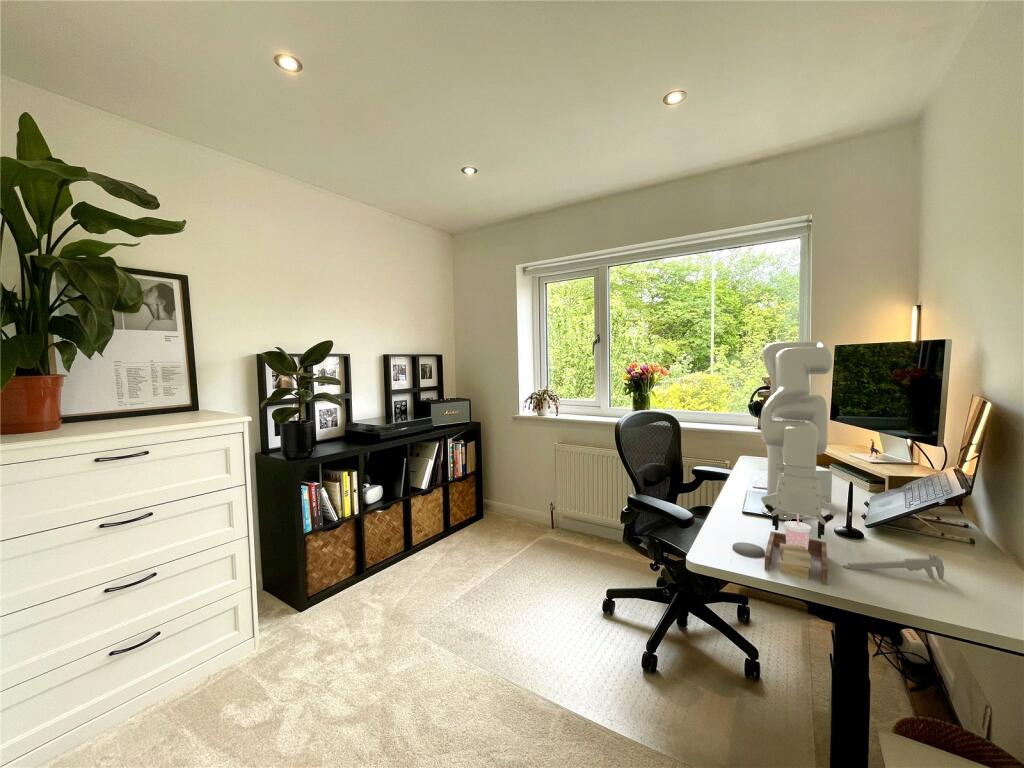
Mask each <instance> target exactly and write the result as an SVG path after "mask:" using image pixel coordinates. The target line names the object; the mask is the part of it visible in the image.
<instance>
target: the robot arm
mask: <svg viewBox="0 0 1024 768" xmlns="http://www.w3.org/2000/svg"><path fill="white" fill-rule="evenodd" d="M762 357H763V364H764V367H765V369H766V371H767V373H768V376H769V380H770V397H769V398H767V400H766V401H765V403H764V404H763V406H762V408H761V412H760V436H761V440H762V441H763V443H764V444H766V452H767V481H766V482H767V486H766V487H767V488H766V494H765V495H763V496H762V497H761V498H760V499H761V502H762V504H763V505H764V506H762V507H761V511H762V510H763V511H764V512H766V513H768V514H771V515H772V517H771V519H772V522H771V525H772V527H774V531H775V532H777V531H778V530H779V527H780V526H779V523H780V520H783V521H789V520H790V521H791V520H792V519H797V514H799V519H800V520H799V521H802V520H804V519H805V517H813V518H816V519H817V520H818V521H817V539H819V540H821V539H822V536H825V526H826V525H827V524H828V523H829V522H830V521H833V520H834V518H835V517H836V516H837V514H838V513H839V508H838V507H836V506H834V505H833V504H832V503H831V504H829V503H827V502H826V501H824V500H822V499H821V485H820V480H819V478H818V477H816V466H817V457H818V456H817V455H823V454H824V453H825V452H826V451H827V447H828V405H827V402H826V399H825V398H824V396H822V395H821V394H817V393H811V383H810V375H825V374H826V375H827V374H828V373H830V372H831V370H832V368H833V367H832V366H833V356H832V353H831V351H830V349H829V347H828V346H827V345H826V344H825V343H824V342H823V341H818V340H817V341H815V340H814V341H813V340H812V341H807V340H806V341H805V340H804V341H778V342H777V341H776V342H771V343H768V344H766V345H765V346H764V348H763V350H762ZM772 418H774V419H776V420H773V419H772ZM822 507H824V508H825V509H827V510H829V512H828V513H827V514H826V515H823V514H822V510H823V509H822ZM784 516H786V517H784Z"/></svg>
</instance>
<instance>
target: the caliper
mask: <svg viewBox="0 0 1024 768" xmlns="http://www.w3.org/2000/svg"><path fill="white" fill-rule="evenodd" d="M928 557H929V558H928ZM928 557H922V558H921V557H919V558H917V557H915V558H914V557H913V558H904V559H905V560H889V561H887V560H886V561H859V562H848V563H847V564H843V565H842V567H843V568H844V569H850V570H858V571H859V570H860V571H861V570H882V569H883V570H886V569H907V570H908V571H909V572H913V571H921V570H924V571H925V572H926V574H927V575H928V577H930V579H935V574H934V571H933V568H935V570H936V573H937V577H938V579H940V580H943V579H944V576H945V566H944V564H943V560H942V559H941V558H940V557H939V555H938V554H936V553H933V556H932V555H931V554H930V553H928Z"/></svg>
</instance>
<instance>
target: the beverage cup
mask: <svg viewBox="0 0 1024 768" xmlns="http://www.w3.org/2000/svg"><path fill="white" fill-rule="evenodd" d="M783 523H784V528H785V534H786V544H790V545H797V546H805V547H806V549H807V550H808V543H809V539H810V532H812V527H811V525H810V524H807V523H804V522H801V521H800V520H799V514H797V521H789V520H785V521H784V522H783Z"/></svg>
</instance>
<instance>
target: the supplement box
mask: <svg viewBox="0 0 1024 768" xmlns="http://www.w3.org/2000/svg"><path fill="white" fill-rule="evenodd" d="M816 477H818V478H819V480H820V485H821V499H822V500H824V501H826V502H827V503H831V504H832V491H833V489H832V488H833V487H832V486H833V484H832V483H833V471H832V470H831V469H828V468H825V467H821V466H819V465H816Z"/></svg>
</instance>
